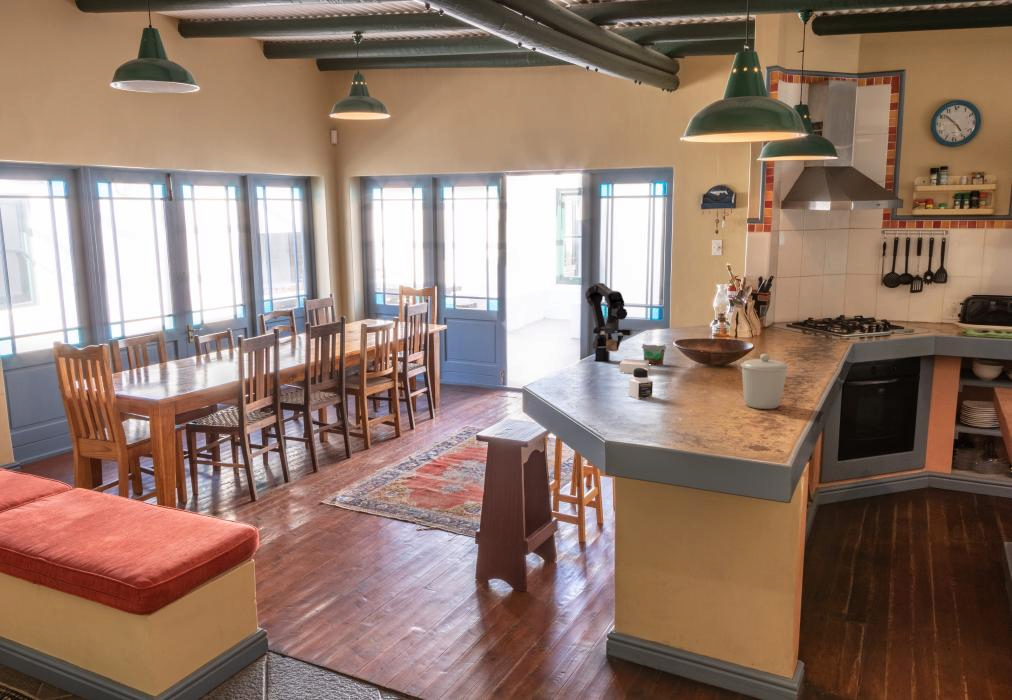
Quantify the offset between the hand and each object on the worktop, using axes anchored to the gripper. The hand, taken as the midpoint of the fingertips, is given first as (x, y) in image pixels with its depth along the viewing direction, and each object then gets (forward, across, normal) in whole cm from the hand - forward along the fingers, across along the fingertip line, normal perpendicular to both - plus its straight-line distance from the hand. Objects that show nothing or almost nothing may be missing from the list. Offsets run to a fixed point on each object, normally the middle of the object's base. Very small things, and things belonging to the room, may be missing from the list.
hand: (612, 348), depth 396 cm
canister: (+9, +77, -60) cm, 98 cm away
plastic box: (+9, +14, -11) cm, 20 cm away
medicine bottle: (+9, +29, -63) cm, 70 cm away
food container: (+9, +18, +10) cm, 22 cm away
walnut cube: (+1, 0, 0) cm, 1 cm away
